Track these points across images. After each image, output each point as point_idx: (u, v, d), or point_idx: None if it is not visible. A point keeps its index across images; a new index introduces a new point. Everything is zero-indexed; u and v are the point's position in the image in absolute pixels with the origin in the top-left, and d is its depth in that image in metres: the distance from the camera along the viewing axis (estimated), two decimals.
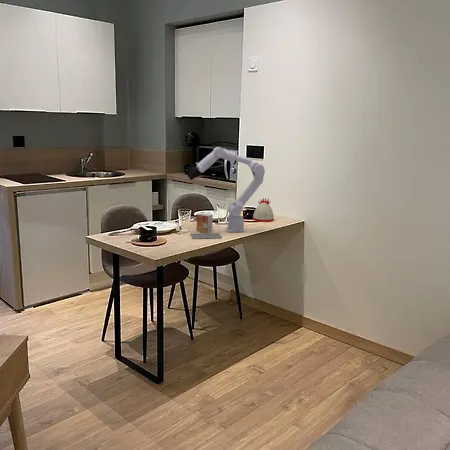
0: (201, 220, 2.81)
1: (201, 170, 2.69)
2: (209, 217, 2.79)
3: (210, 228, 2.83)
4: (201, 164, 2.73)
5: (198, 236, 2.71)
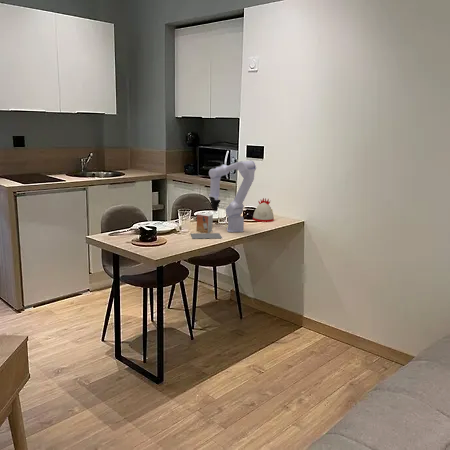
0: (201, 220, 2.81)
1: (216, 198, 2.88)
2: (209, 217, 2.79)
3: (210, 228, 2.83)
4: (212, 193, 2.92)
5: (198, 236, 2.71)
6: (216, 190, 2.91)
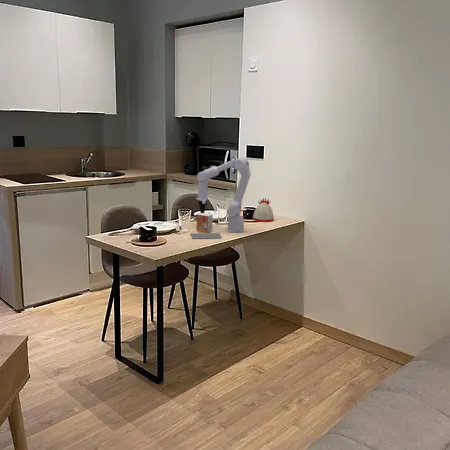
0: (201, 220, 2.81)
1: (204, 202, 2.84)
2: (209, 217, 2.79)
3: (210, 228, 2.83)
4: (200, 196, 2.88)
5: (198, 236, 2.71)
6: (204, 193, 2.87)
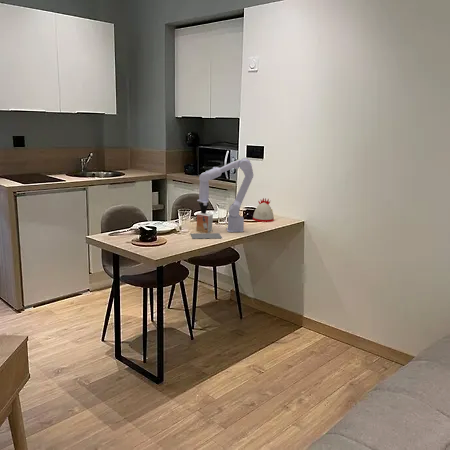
0: (201, 220, 2.81)
1: (205, 203, 2.79)
2: (209, 217, 2.79)
3: (210, 228, 2.83)
4: (201, 198, 2.82)
5: (198, 236, 2.71)
6: (205, 195, 2.82)
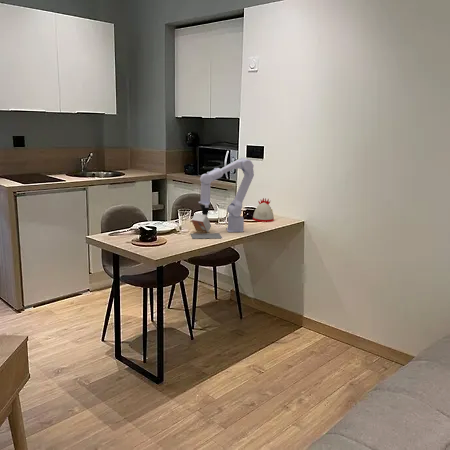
0: (197, 224, 2.77)
1: (207, 206, 2.73)
2: (204, 221, 2.74)
3: (208, 226, 2.80)
4: (203, 200, 2.77)
5: (198, 236, 2.71)
6: (206, 197, 2.76)
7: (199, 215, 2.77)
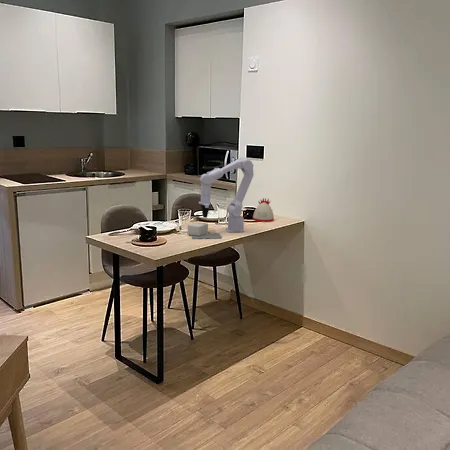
0: None
1: (207, 206, 2.72)
2: (200, 233, 2.72)
3: (206, 228, 2.78)
4: (203, 200, 2.76)
5: (198, 236, 2.71)
6: (207, 197, 2.75)
7: (192, 228, 2.72)
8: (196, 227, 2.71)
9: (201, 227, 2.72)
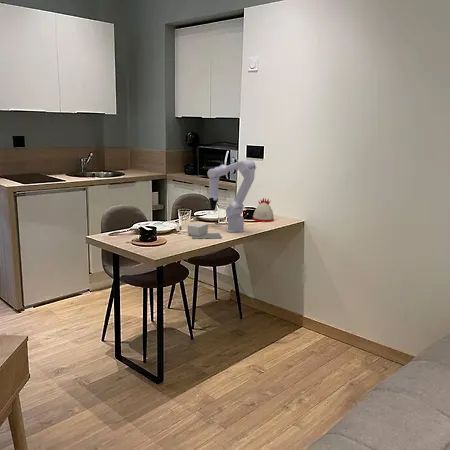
0: None
1: (215, 198, 2.87)
2: (200, 233, 2.72)
3: (206, 228, 2.78)
4: (211, 193, 2.91)
5: (198, 236, 2.71)
6: (215, 190, 2.91)
7: (192, 228, 2.72)
8: (196, 227, 2.71)
9: (201, 227, 2.72)
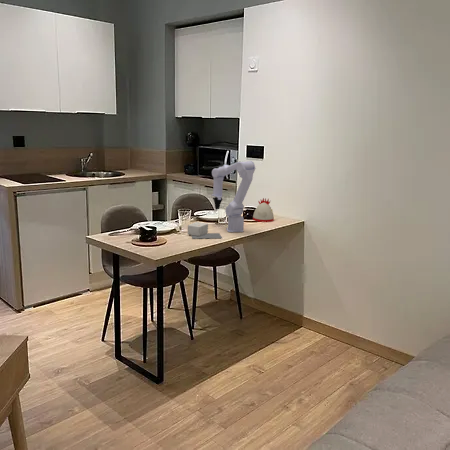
0: None
1: (219, 198, 2.89)
2: (200, 233, 2.72)
3: (206, 228, 2.78)
4: (215, 193, 2.93)
5: (198, 236, 2.71)
6: (219, 190, 2.93)
7: (192, 228, 2.72)
8: (196, 227, 2.71)
9: (201, 227, 2.72)
